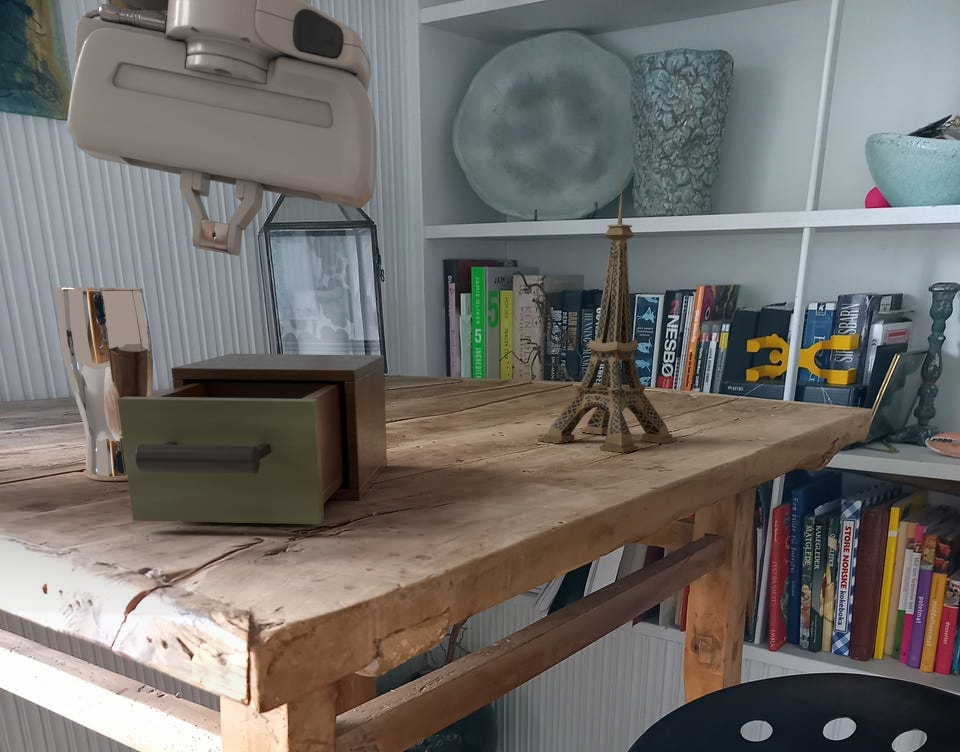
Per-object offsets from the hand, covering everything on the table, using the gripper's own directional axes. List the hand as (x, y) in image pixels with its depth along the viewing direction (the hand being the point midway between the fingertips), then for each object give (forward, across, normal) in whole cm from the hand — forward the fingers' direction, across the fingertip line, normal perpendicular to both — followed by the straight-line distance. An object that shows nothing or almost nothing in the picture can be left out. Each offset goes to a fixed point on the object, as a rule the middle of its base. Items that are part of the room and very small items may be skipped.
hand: (216, 251), depth 65 cm
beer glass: (+18, -9, +12) cm, 24 cm away
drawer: (+17, +5, -4) cm, 18 cm away
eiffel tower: (+8, +34, +31) cm, 47 cm away
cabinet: (+16, +6, +10) cm, 19 cm away
